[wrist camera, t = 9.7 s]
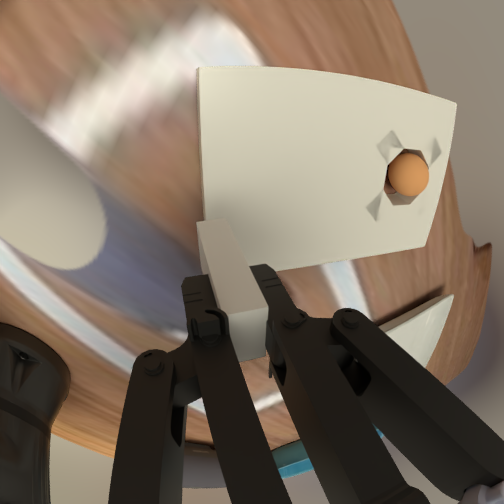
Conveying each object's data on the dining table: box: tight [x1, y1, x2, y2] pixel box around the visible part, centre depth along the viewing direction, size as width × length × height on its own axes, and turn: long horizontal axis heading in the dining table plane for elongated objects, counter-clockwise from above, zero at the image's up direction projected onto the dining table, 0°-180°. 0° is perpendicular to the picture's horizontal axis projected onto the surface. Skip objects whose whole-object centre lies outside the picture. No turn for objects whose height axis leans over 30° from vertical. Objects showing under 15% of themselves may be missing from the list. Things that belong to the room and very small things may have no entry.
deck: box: [196, 66, 457, 271], centre depth 22 cm, size 16×23×2 cm
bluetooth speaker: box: [182, 442, 226, 488], centre depth 45 cm, size 23×9×10 cm, turn 47°
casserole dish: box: [272, 423, 384, 479], centre depth 64 cm, size 37×22×7 cm, turn 107°
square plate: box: [378, 294, 454, 368], centre depth 44 cm, size 27×27×4 cm
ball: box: [388, 153, 429, 196], centre depth 23 cm, size 4×4×4 cm
